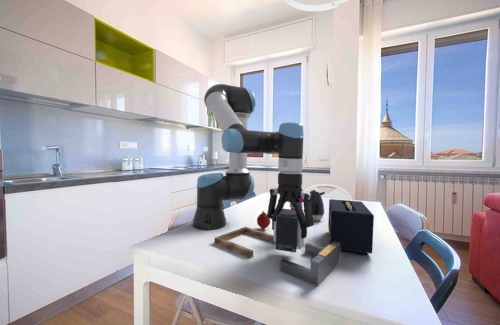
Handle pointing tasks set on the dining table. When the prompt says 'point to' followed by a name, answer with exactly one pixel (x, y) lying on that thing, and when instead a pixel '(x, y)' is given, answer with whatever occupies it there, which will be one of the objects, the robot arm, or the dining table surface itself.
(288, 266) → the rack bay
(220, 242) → the holder
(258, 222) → the onion
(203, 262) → the dining table surface
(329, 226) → the black toaster
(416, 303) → the dining table surface
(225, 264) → the dining table surface
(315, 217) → the pump dispenser
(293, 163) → the robot arm
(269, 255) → the dining table surface
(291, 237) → the small box
